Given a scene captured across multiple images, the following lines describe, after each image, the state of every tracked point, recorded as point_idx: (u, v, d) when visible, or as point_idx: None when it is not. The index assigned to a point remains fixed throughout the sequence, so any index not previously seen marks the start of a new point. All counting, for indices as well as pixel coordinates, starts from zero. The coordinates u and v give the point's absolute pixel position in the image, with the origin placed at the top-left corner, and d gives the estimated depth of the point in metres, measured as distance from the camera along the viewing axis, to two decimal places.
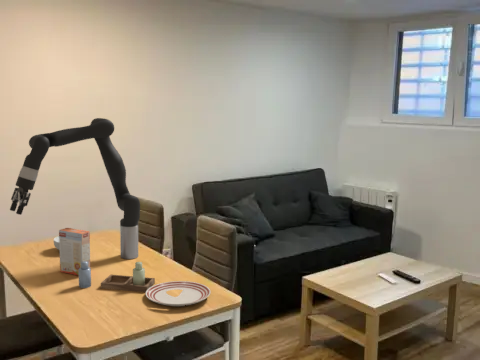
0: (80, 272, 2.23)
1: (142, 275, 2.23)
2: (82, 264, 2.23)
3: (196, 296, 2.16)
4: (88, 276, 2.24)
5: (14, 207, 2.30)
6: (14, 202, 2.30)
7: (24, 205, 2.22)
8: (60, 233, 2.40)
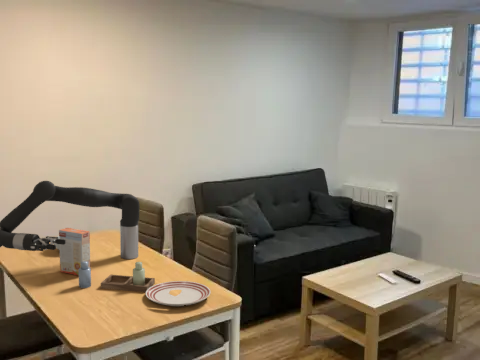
0: (80, 272, 2.23)
1: (142, 275, 2.23)
2: (82, 264, 2.23)
3: (196, 296, 2.16)
4: (88, 276, 2.24)
5: (61, 241, 2.29)
6: (56, 242, 2.29)
7: (42, 247, 2.19)
8: (60, 233, 2.40)
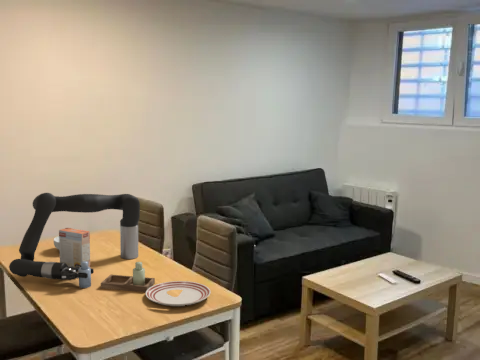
0: None
1: (142, 275, 2.23)
2: (82, 264, 2.23)
3: (196, 296, 2.16)
4: (88, 276, 2.24)
5: None
6: None
7: (74, 276, 2.20)
8: (60, 233, 2.40)
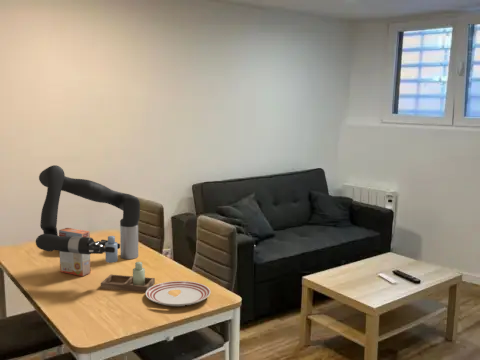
0: (107, 246, 2.22)
1: (142, 275, 2.23)
2: (109, 238, 2.22)
3: (196, 296, 2.16)
4: (115, 250, 2.23)
5: None
6: None
7: (102, 250, 2.19)
8: (60, 233, 2.40)
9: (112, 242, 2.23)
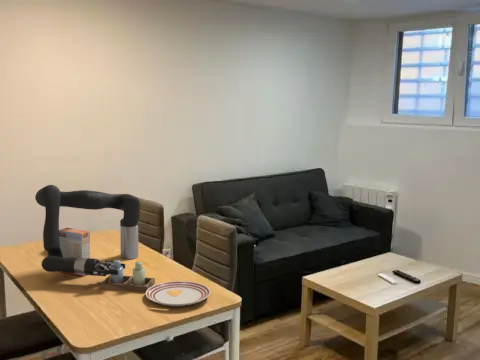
0: None
1: (142, 275, 2.23)
2: (115, 263, 2.24)
3: (196, 296, 2.16)
4: (121, 275, 2.25)
5: (121, 265, 2.30)
6: None
7: (105, 273, 2.20)
8: (60, 233, 2.40)
9: (118, 266, 2.25)
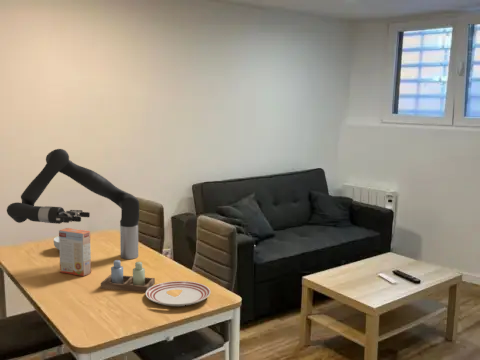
0: (113, 271, 2.24)
1: (142, 275, 2.23)
2: (115, 263, 2.24)
3: (196, 296, 2.16)
4: (121, 275, 2.25)
5: (85, 214, 2.32)
6: (81, 215, 2.32)
7: (68, 219, 2.22)
8: (60, 233, 2.39)
9: (118, 266, 2.25)
